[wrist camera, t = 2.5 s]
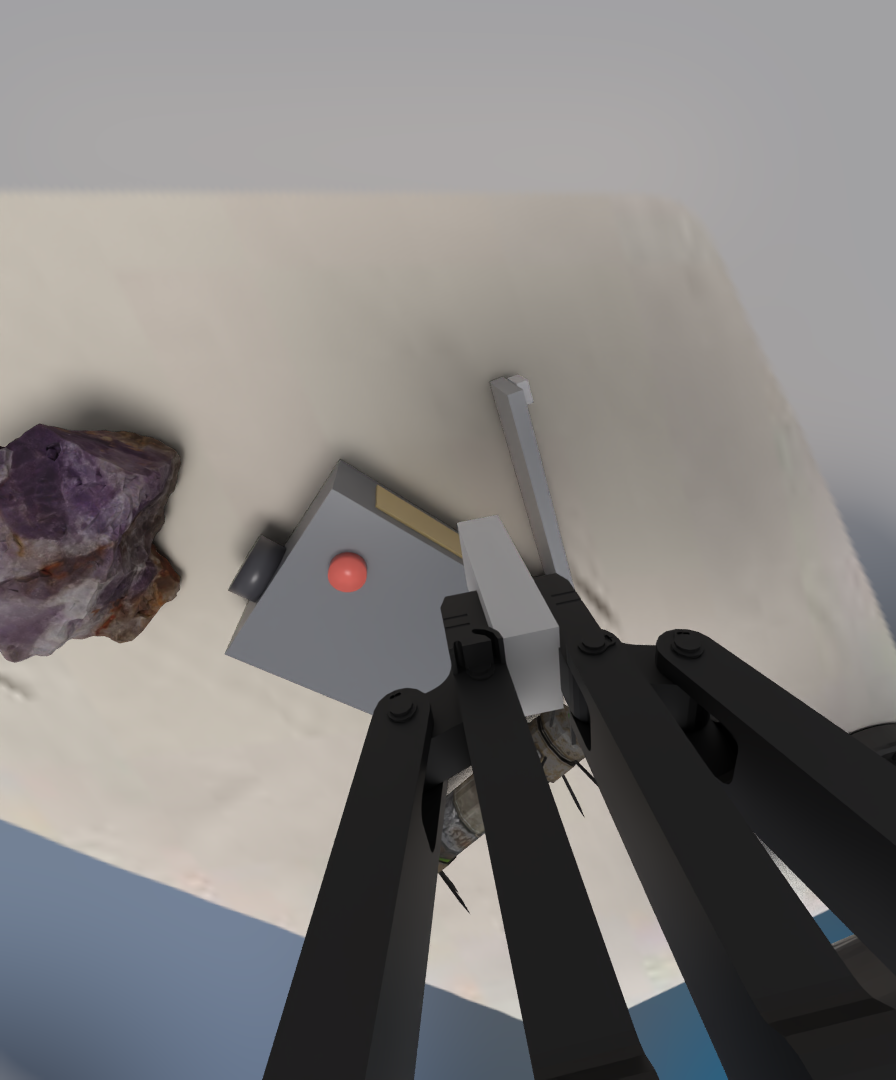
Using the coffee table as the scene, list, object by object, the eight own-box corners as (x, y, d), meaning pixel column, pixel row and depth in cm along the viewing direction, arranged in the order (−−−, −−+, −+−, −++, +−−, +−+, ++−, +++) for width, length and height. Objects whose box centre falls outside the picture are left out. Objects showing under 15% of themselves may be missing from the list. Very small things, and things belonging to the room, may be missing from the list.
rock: (222, 454, 28) (24, 386, 25) (177, 483, 21) (-119, 390, 17) (173, 623, 31) (-12, 580, 28) (115, 707, 23) (-152, 660, 20)
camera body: (551, 586, 34) (581, 637, 29) (451, 698, 38) (462, 761, 33) (316, 441, 28) (301, 474, 22) (223, 594, 31) (191, 652, 26)
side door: (567, 579, 34) (592, 618, 30) (546, 587, 34) (569, 626, 30) (512, 371, 27) (535, 383, 23) (486, 380, 27) (505, 394, 23)
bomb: (623, 795, 26) (302, 1033, 34) (666, 776, 35) (398, 972, 42) (514, 640, 33) (265, 868, 41) (572, 654, 41) (355, 842, 49)
